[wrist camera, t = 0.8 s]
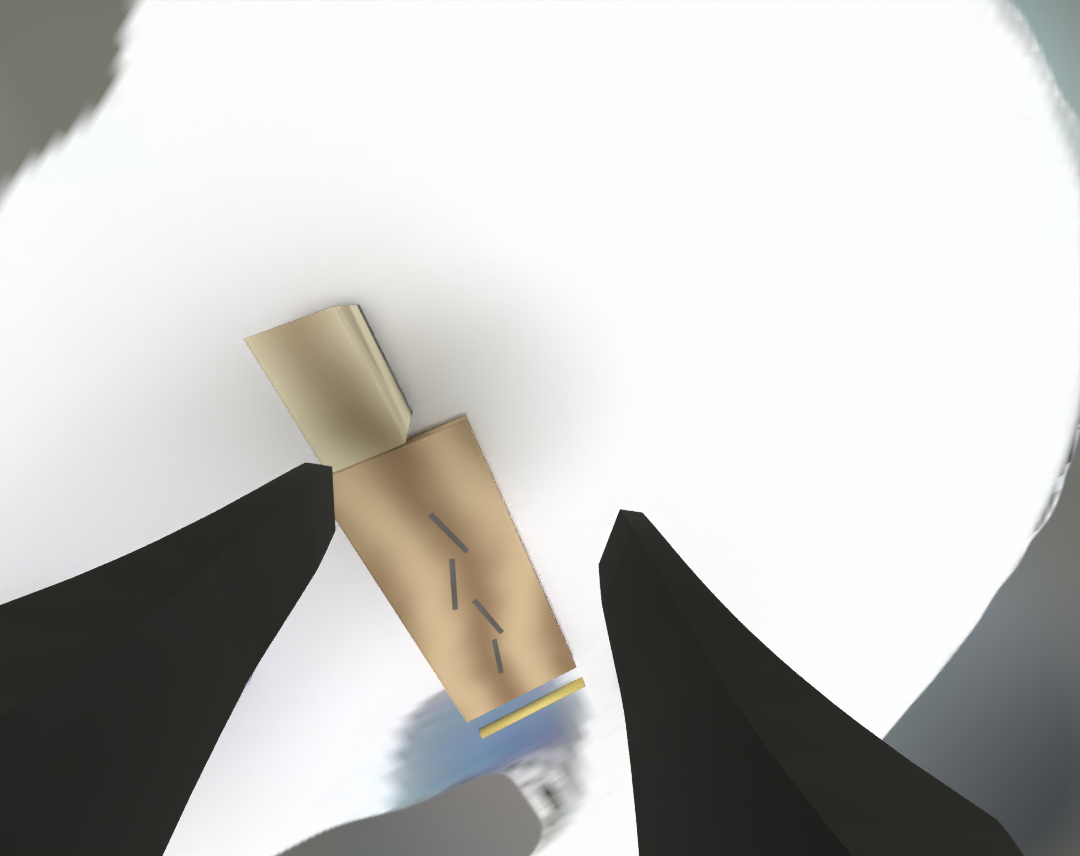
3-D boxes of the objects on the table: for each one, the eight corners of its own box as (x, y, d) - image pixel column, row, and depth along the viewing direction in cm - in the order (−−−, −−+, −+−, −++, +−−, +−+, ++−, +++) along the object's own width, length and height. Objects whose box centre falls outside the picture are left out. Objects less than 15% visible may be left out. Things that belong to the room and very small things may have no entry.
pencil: (483, 734, 35) (482, 740, 35) (479, 725, 35) (479, 732, 35) (584, 683, 36) (585, 688, 36) (580, 674, 37) (582, 679, 36)
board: (465, 708, 34) (467, 722, 33) (318, 475, 25) (312, 483, 24) (572, 655, 35) (576, 667, 34) (465, 415, 26) (466, 420, 25)
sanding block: (352, 436, 25) (328, 474, 19) (291, 329, 22) (243, 339, 17) (412, 412, 25) (405, 443, 20) (359, 305, 23) (334, 306, 17)
